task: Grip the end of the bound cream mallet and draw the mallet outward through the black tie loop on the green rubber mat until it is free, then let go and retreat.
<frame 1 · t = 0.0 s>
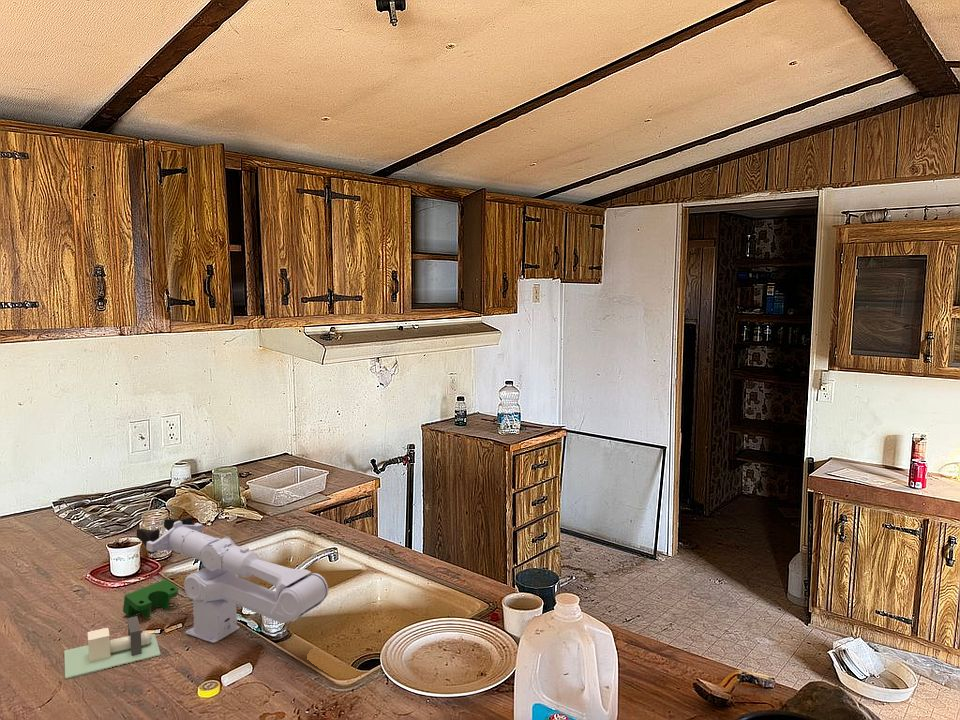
hand: (151, 527, 167), 22 cm above the worktop, tool horizontal, fingers open, 7 cm apart
clamp: (152, 612, 170), on the worktop
tie loop: (134, 647, 153), resting on mat
mat: (112, 654, 151), on the worktop
cream mallet: (99, 655, 150), resting on mat
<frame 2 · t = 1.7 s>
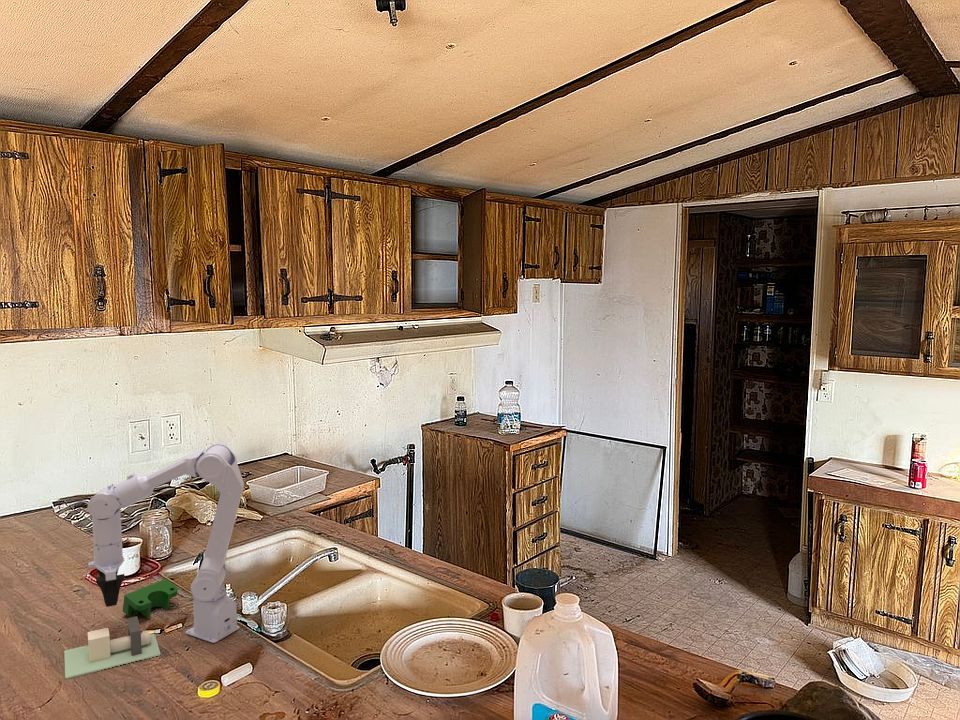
hand: (110, 598, 157), 9 cm above the worktop, tool pointing down, fingers open, 7 cm apart
nothing on the worktop moved.
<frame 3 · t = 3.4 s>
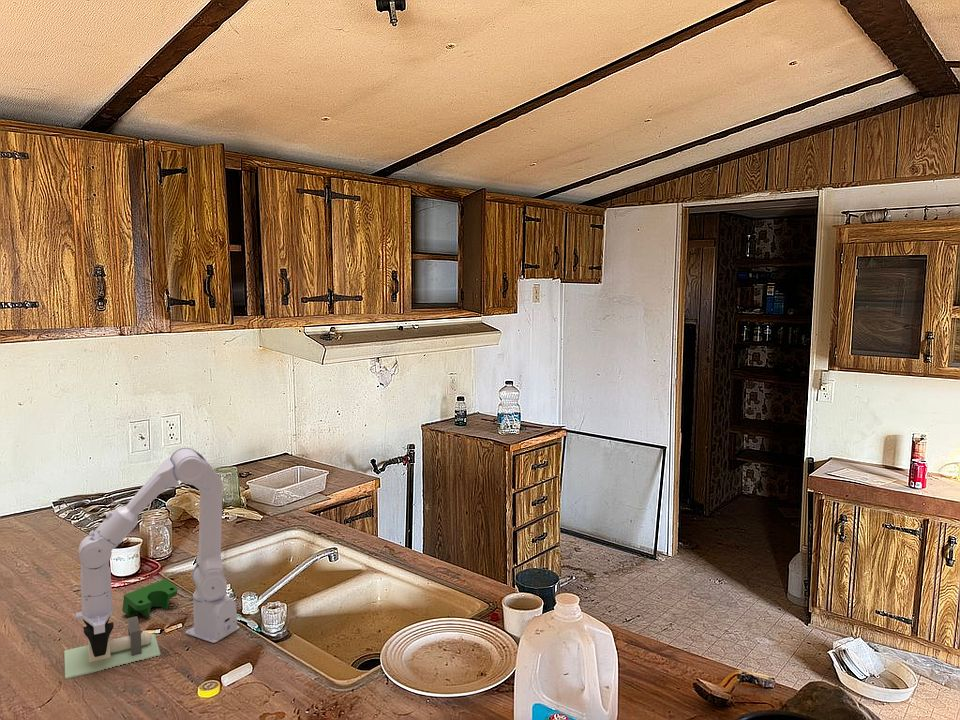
hand: (99, 650, 149), 2 cm above the worktop, tool pointing down, fingers closed on cream mallet, 4 cm apart
cream mallet: (99, 655, 150), resting on mat, touching gripper
everything else where it was.
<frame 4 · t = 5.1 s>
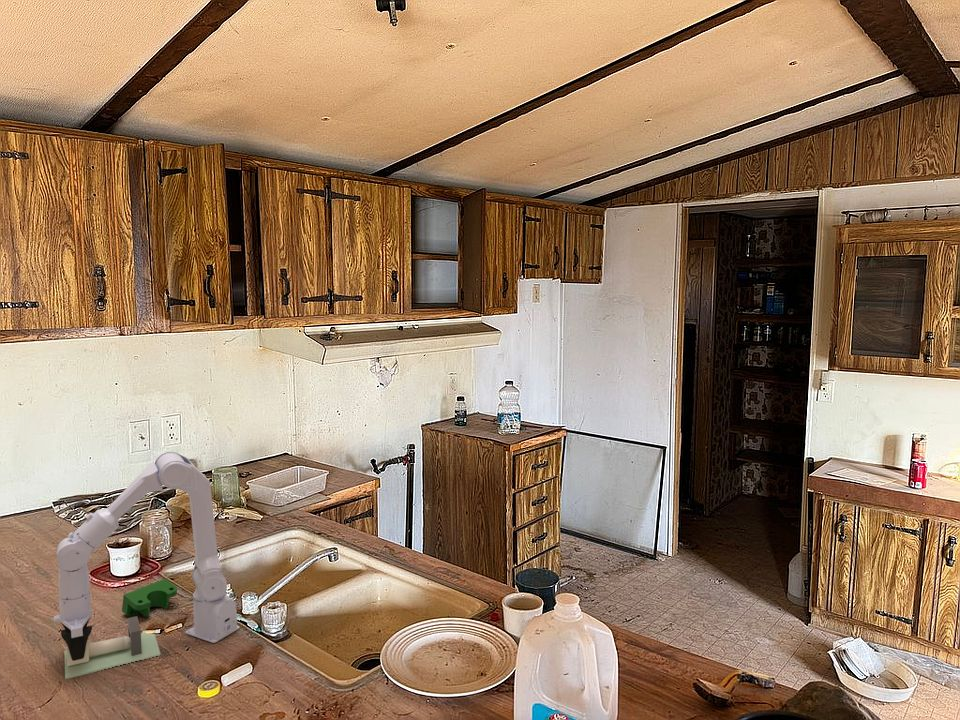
hand: (77, 653, 147), 2 cm above the worktop, tool pointing down, fingers closed on cream mallet, 4 cm apart
cream mallet: (77, 659, 147), point 1 cm above the worktop, touching gripper
everything else where it was.
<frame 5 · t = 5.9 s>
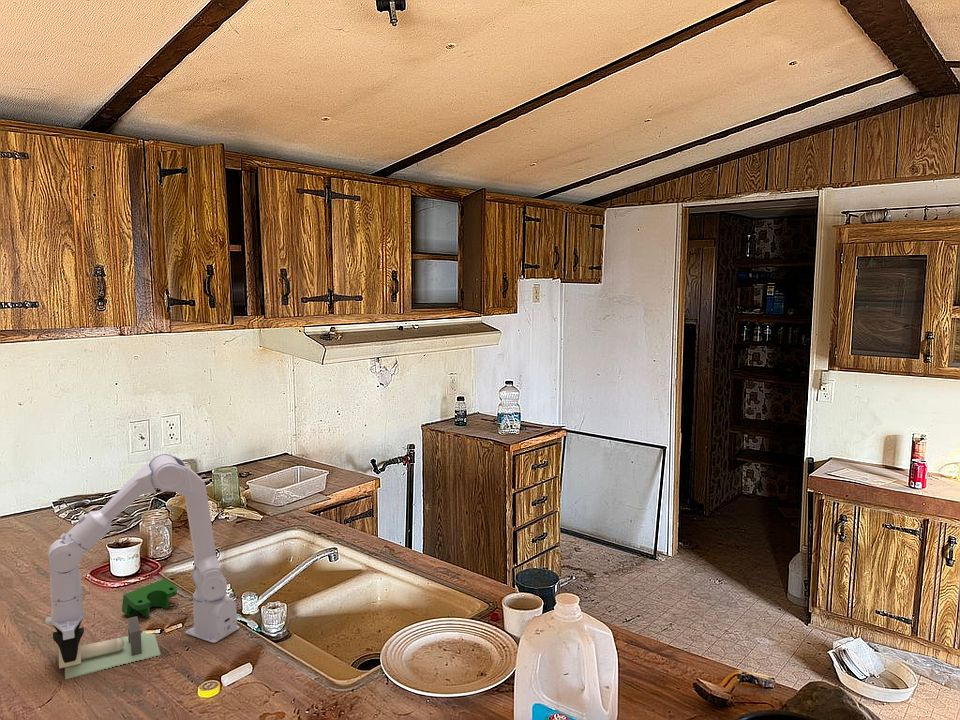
hand: (69, 655, 146), 2 cm above the worktop, tool pointing down, fingers closed on cream mallet, 4 cm apart
cream mallet: (70, 661, 147), point 1 cm above the worktop, touching gripper
everything else where it was.
when the fingers open (2 cm above the worktop, at t = 6.6 s): cream mallet stays where it is, resting on mat.
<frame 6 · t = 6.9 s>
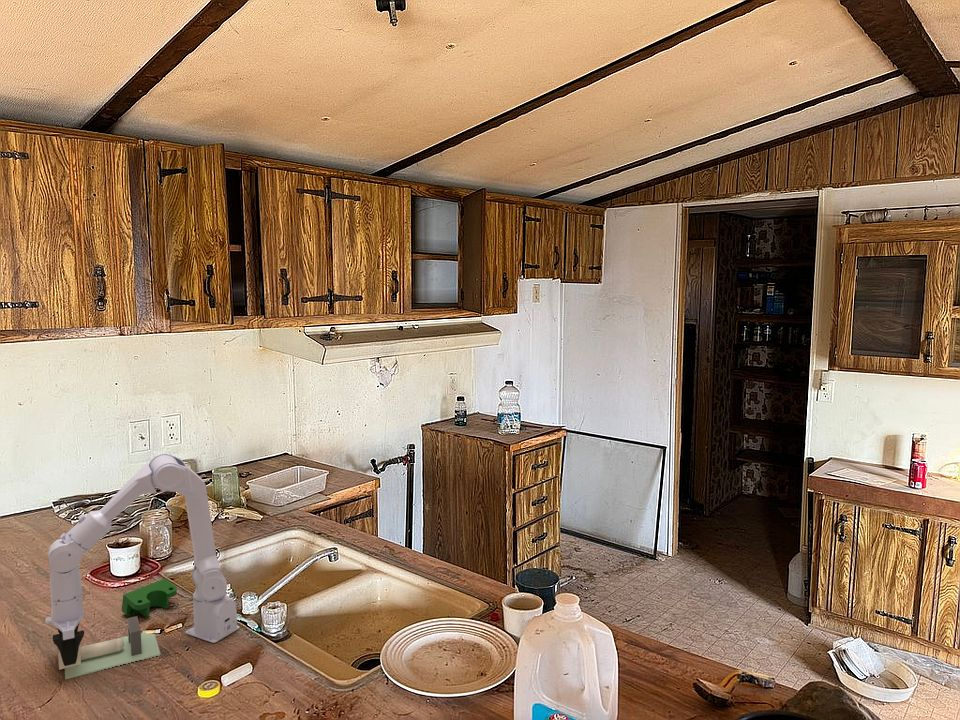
hand: (69, 655, 146), 2 cm above the worktop, tool pointing down, fingers open, 7 cm apart
cream mallet: (69, 662, 147), resting on mat
everything else where it was.
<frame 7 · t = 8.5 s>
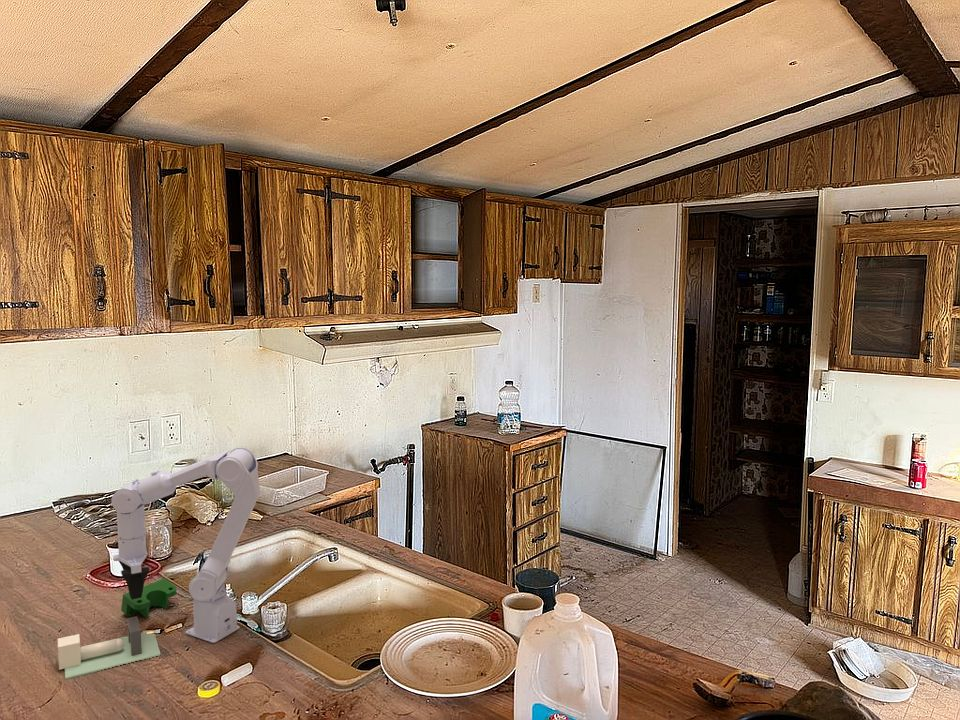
hand: (134, 591, 160), 10 cm above the worktop, tool pointing down, fingers open, 7 cm apart
nothing on the worktop moved.
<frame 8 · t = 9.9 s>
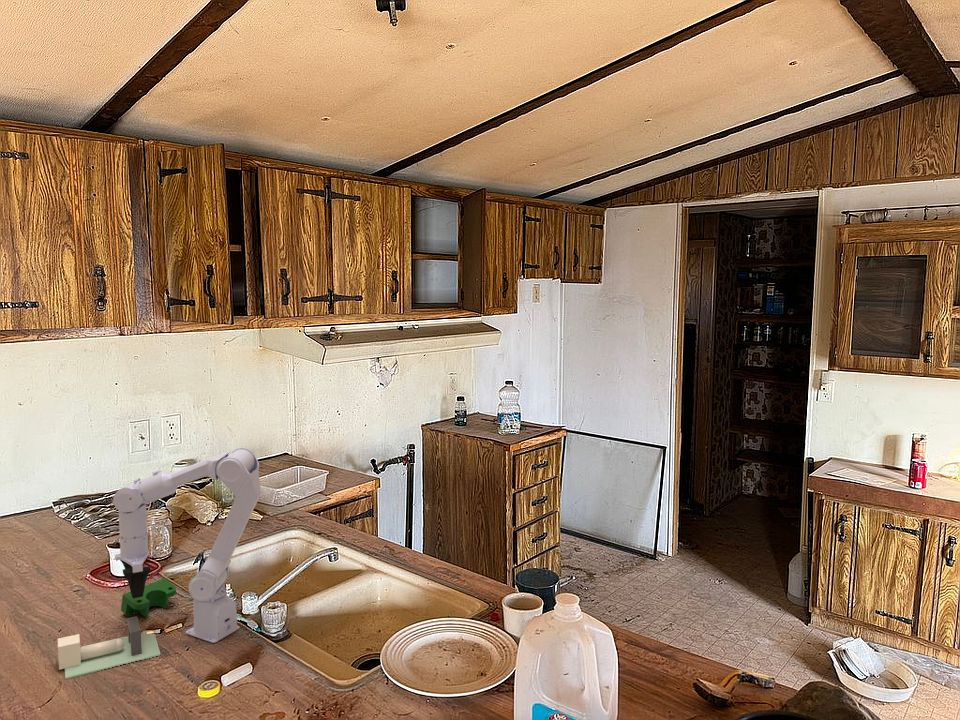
hand: (135, 590, 160), 10 cm above the worktop, tool pointing down, fingers open, 7 cm apart
nothing on the worktop moved.
at the end: cream mallet moved 5.6 cm from its start; cream mallet 0.1 cm from the target spot, resting on mat; the gripper is holding nothing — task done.
